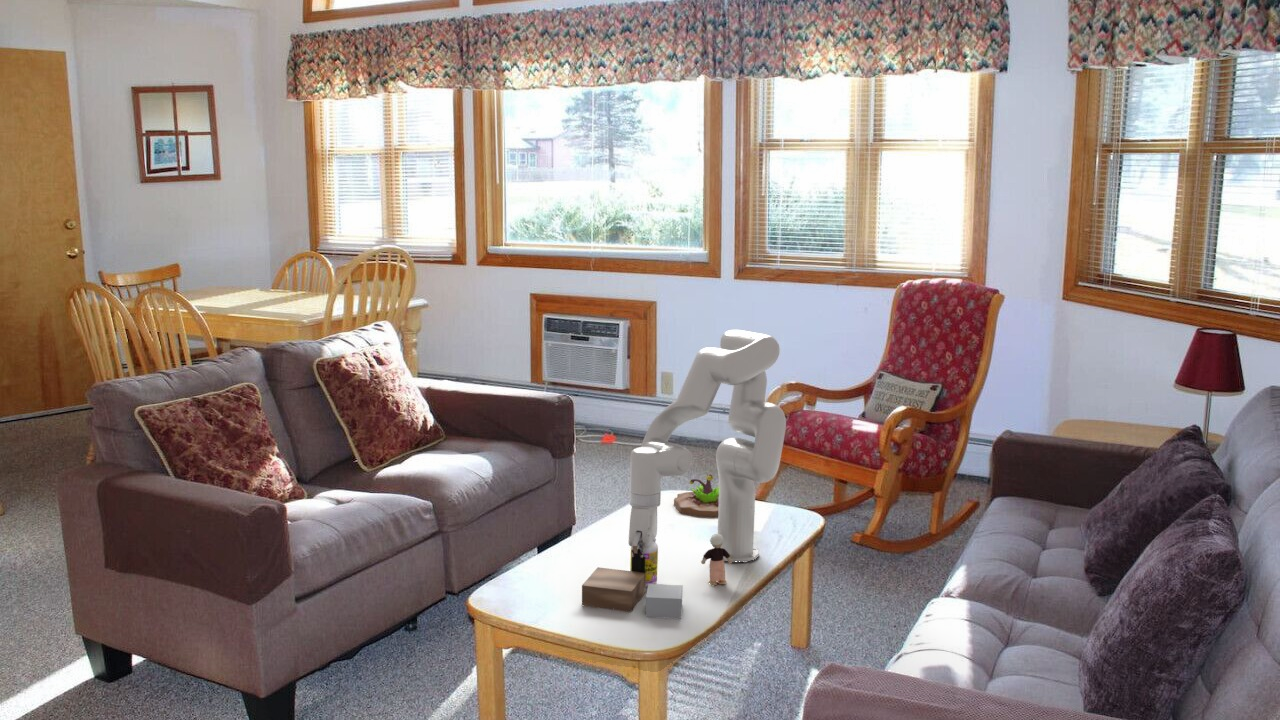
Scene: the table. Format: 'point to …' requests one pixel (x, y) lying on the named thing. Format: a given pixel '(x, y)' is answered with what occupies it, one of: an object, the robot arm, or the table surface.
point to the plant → (699, 500)
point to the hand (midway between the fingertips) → (643, 565)
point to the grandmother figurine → (717, 560)
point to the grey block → (664, 601)
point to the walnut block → (613, 589)
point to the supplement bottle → (649, 562)
